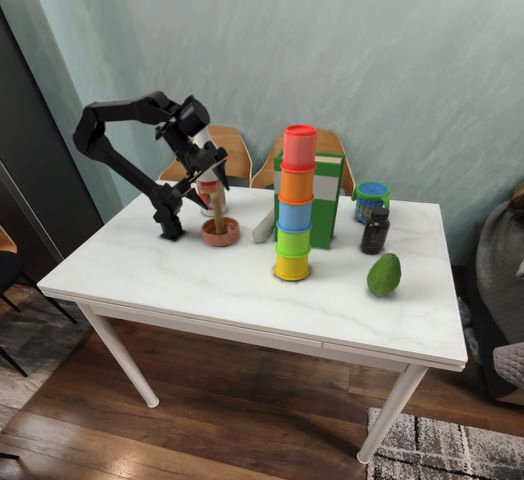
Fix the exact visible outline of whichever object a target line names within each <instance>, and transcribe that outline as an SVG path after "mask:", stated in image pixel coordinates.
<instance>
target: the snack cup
mask: <svg viewBox="0 0 524 480" xmlns="http://www.w3.org/2000/svg"><path fill="white" fill-rule="evenodd" d="M390 194H391V188H390V186H388V185H387V184H384V183H382V182H379V181H364V182H361V183H359V184H357V185H355V187H354V189H353V190H352V194H351V198H350V199H351V201H352V202H355V215H354V216H355V217H354V218H355V220H357V221H358V222H360V223H362V224H365V223H366V220H367V219H368V218H370V217H371V213H372V209H373V208H375V207H384V208H387V209H389V210H390V209H391V201H390Z"/></svg>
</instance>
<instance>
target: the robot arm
mask: <svg viewBox="0 0 524 480" xmlns="http://www.w3.org/2000/svg"><path fill="white" fill-rule="evenodd" d="M172 119H174V121H172ZM126 121H127V122H128V121H136V122H138V123H141V124H143V125H149V126H156V127H155V128H154V131H155V135H154V139H155V141H157V142H158V141H159V140H160V139H162V138H163V140H164V142H165V143H166V144H167V146H168V147H169V148H170V150H171V151H172V153H173V154H174V156H175V157H176V158H175V160H176V162H177V163H180V164H181V166H182V167H183V168H184V170H185V171H186V172H185V175H186V176H187V177H183V178H181V179H180V180H179V181H177V182H176V183H175V184H174V185H173V186H172V185H171V184H170V183H168V182H165V183H163V184H159V183H157V182H156V181H155V180H153V179H152V178H151V177H149V176H148V175H147V174H146V173H144V172H143V171H142V170H141V169H139V168H138V167H137V166H136V165H135V164H134V163H132V162H131V161H130V160H129V159H127V158H126V157H125V156H123V155H122V154H121V153H120V152H118V151H117V150H116V149H115V148H114V146H113V144H112V142H111V141H110V139H109V138H108V136H107V135H106V130H107V126H106V123H112V122H115V123H116V122H126ZM161 123H164V124H163V125H160V124H161ZM210 124H211V116H210V113H209V111H208V109H207V108H206V106H205V105H204V104H202V102H201V101H199V100H198V99H196V97H195V96H194V95H193V94H190V95H188V96H187V97H186V98H185V99H184V101H183V102H182V104H180V103H178V102H176V101H174V100H172V99H171V98H168V96H167V95H166V94H165V92H163V91H162V90H154V91H152V92H149V93H147V94H144V95H142V96H140V97H137V98H133V99H123V100H109V101H101V102H99V101H93V102H91V103H89V104H86V105H85V106H84V107H83V110H82V114H81V117H80V119H79V121H78V123H77V125H76V127H75V131H74V132H73V134H72V141H73V145H74V146H75V150H77V151H78V152H79V153H80V154H81V155H83V156H85V157H87V158H88V159H90V160H91V161H95V162H98V163H101V164H105V165H106V166H107V167H108V168H110V169H111V170H112V171H114V172H115V174H117V175H119V176H120V177H121V178H122V179H124V180H125V181H126V182H128V183H129V184H130V185H132V186H133V187H134V188H136V189H137V190H138V191H139V192H141V193H142V194H143V195H145V197H147V198H148V200H149V201H150V204H151V205H152V207H153V208H154V209H155V210H156V211H155V212H154V213H153V215H152V219H153V220H154V222H155V223H156V224H160V228H161V231H162V233H161V234H160V235H159V236H160V238H163V239H166V240H169V241H173V242H175V241H177V240H178V239H180V238H181V237H182V236H184V235H185V234H186V233H187V231H186V230H185V229H183V225H182V222H181V220H180V217H179V216H178V214H179V213H180V212H181V208H183V205H184V202H183V199H184V198H186V199H187V200H189V201H192V202H193V203H195V204H196V205H198V206H199V207H200V208H201V207H202V208H204V209H205V210H208V207H207V205H206V204H205V203H204V201H203V200H202V199H201V198H200V196H199V195H198V191H197V188H196V187H192V184H193V183H194V182H196V179H198V178H199V177H200V176H201V175H202V174H203V173H204V172H206V171H207V170H208V169H209V168H210V167H211V166H213V167H214V168H212V171H213V172H214V174H215V175H216V176H217V178H218V179H219V181H220V182H221V184H222V185H223V186H224V190H226V191H227V192H230V190H231V188H230V185H229V181H228V176H227V173H226V163H227V161H228V160H227V157H228V156H229V152H228V151H227V149H226V148H225V147H223V146H218V149H216V147H215V145H214V144H213V143H212V141H209V140H208V141H207V142H206V143H205V144H204V147H203V148H202V149H200V148H199V147H198V145H197V144H196V143H194V144H193V140H192V139H191V138H194V137H195V136H196V135H197V134H198V133H199V132H201V131H202V130H203V129H204V128H205V127H206V126H208V127H209V125H210ZM196 171H197V173H196V174H195V172H196Z"/></svg>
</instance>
